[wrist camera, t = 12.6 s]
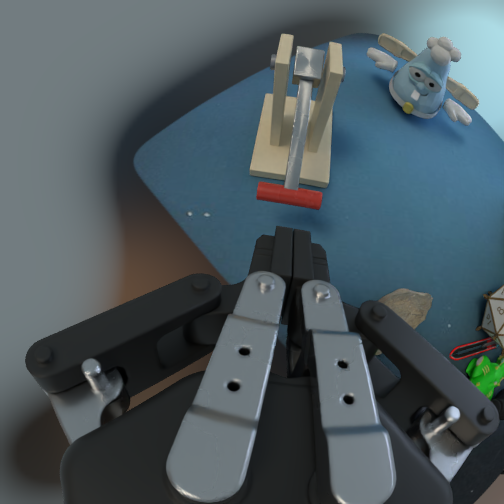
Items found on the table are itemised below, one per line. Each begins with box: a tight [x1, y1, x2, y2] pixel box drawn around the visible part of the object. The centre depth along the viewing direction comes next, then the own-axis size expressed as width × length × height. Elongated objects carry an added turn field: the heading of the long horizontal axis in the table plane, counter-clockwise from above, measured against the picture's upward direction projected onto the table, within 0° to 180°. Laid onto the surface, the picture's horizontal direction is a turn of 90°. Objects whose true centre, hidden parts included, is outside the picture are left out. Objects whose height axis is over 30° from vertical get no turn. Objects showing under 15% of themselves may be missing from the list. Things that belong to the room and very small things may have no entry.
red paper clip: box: [449, 337, 498, 360], centre depth 24 cm, size 2×14×1 cm, turn 91°
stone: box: [375, 289, 433, 355], centre depth 25 cm, size 13×3×5 cm
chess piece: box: [490, 389, 504, 420], centre depth 19 cm, size 4×4×10 cm
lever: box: [256, 46, 324, 210], centre depth 21 cm, size 13×5×2 cm, turn 170°
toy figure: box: [367, 33, 479, 126], centre depth 24 cm, size 17×10×15 cm, turn 53°
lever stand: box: [250, 34, 346, 188], centre depth 24 cm, size 11×8×13 cm
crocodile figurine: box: [466, 355, 504, 400], centre depth 21 cm, size 7×18×4 cm, turn 109°
